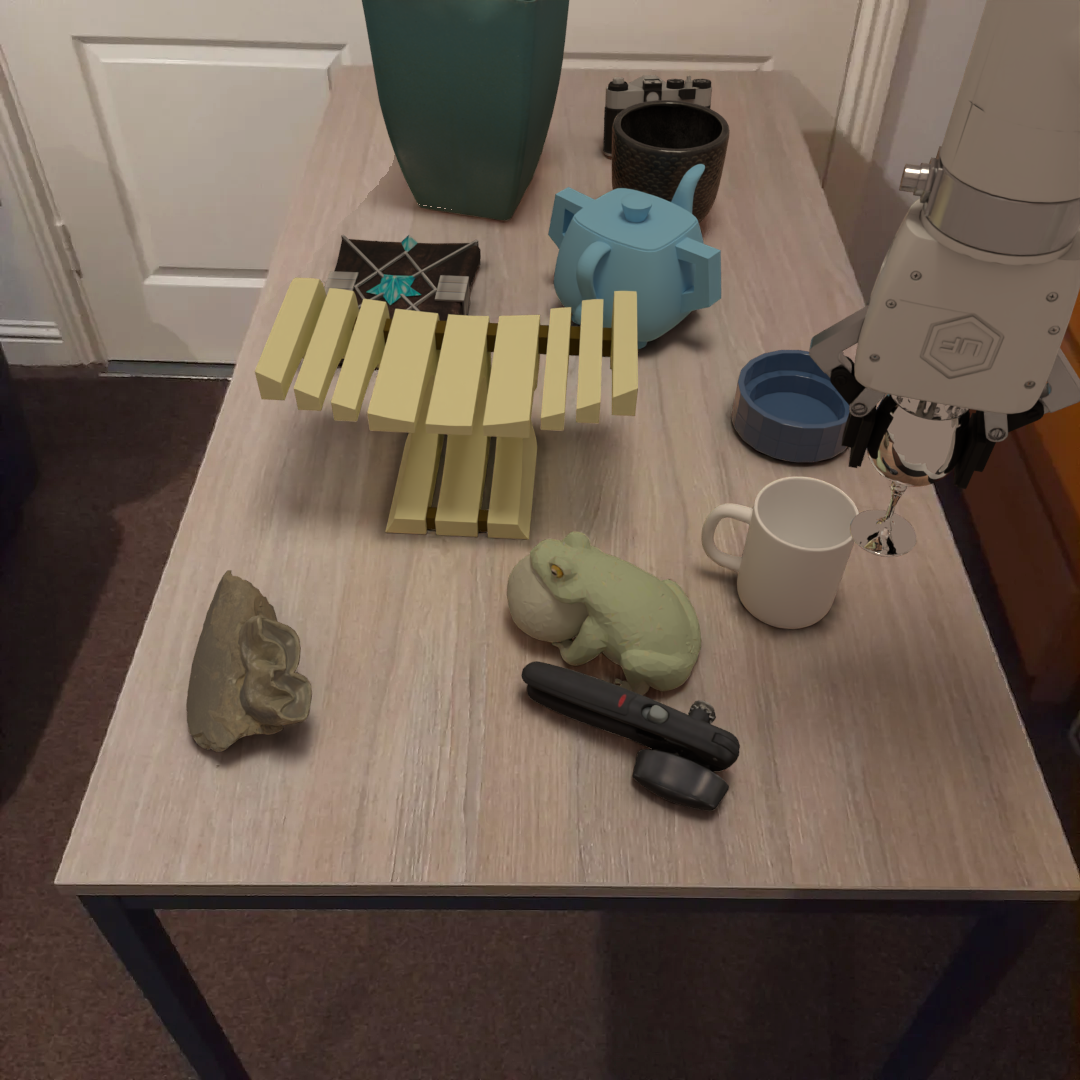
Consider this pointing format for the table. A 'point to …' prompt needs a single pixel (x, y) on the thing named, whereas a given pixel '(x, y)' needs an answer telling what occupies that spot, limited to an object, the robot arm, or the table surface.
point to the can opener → (645, 733)
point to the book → (408, 274)
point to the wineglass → (908, 464)
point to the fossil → (244, 670)
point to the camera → (650, 97)
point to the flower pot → (467, 95)
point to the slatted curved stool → (450, 392)
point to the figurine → (605, 612)
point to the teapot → (635, 255)
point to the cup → (788, 549)
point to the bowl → (789, 408)
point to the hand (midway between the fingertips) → (907, 461)
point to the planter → (669, 150)
